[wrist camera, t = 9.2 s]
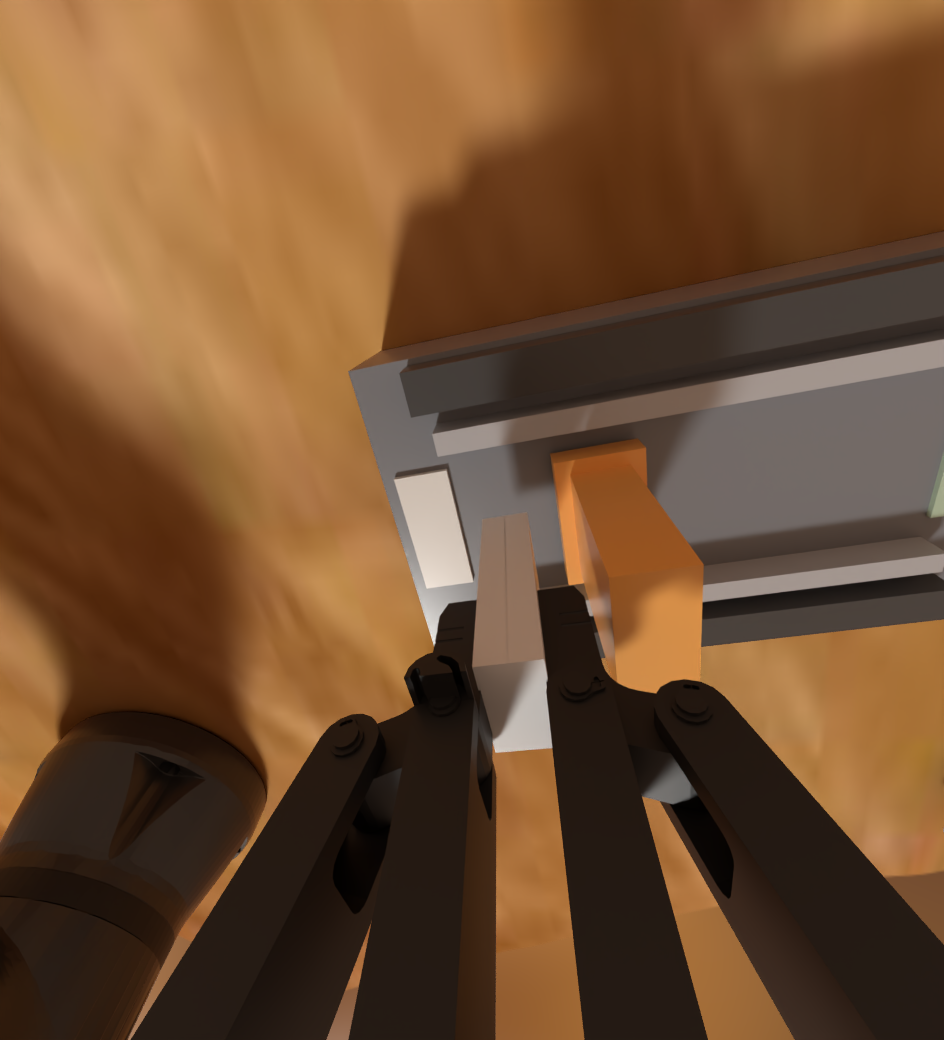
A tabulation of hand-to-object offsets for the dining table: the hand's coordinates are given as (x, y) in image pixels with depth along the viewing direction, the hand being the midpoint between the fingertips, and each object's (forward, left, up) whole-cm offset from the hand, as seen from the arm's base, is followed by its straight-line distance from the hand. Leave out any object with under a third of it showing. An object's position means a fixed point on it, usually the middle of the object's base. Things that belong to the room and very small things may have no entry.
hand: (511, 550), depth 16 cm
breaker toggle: (+3, 0, -2) cm, 4 cm away
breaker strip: (+7, 0, -7) cm, 10 cm away
